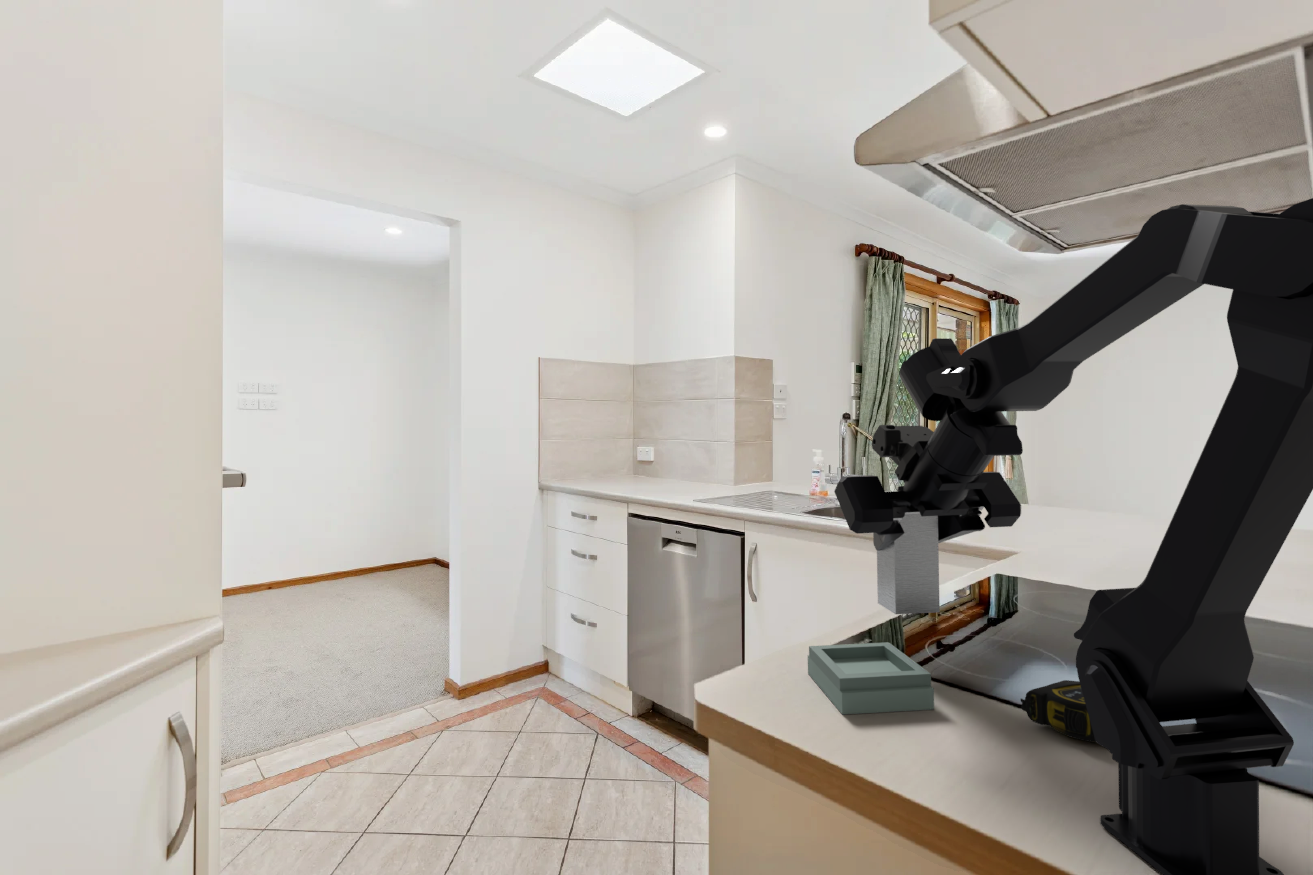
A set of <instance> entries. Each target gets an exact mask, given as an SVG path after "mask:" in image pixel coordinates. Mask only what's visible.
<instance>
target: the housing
mask: <svg viewBox="0 0 1313 875" xmlns="http://www.w3.org/2000/svg"><path fill="white" fill-rule="evenodd" d="M900 524H901V526H902V528H903V530H904V534H903V535H902V536H900V537H899V538H898V539H896V540H895V541H893V542H892V543H891V544H889V545H888V546H887V547H885V548H884V549H882V550H880V551H877V550H876V572H877V575H876V577H877V578H876V579H877V604H879V605H880V606H882V607H883V608H884V609H886V610H887V611H889V612H891V613H893V614H894V615H910V614H911V615H912V614H927V613H928V614H930V613H940V609H941V608H940V607H941V606H940V562H939V561H940V560H939V555H940V553H939V543H938V516H921V514H905V516H904V517H903V519H901V521H900Z"/></svg>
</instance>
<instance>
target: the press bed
mask: <svg viewBox="0 0 1313 875" xmlns="http://www.w3.org/2000/svg"><path fill="white" fill-rule="evenodd" d="M807 674H808V676H810V678H811V679H812V681H814V682H815V684H816V685H817V687H819V689H820V690H821V691H822V692H823V694H825V696H826V697H827V698H828V699H829V701H830V702H831V703H832V704H833V706H834V707H835V708H836V709H837V710H838V711H839V712H840V713H841V715H854V714H855V715H856V714H857V715H858V714H875V713H891V712H893V713H894V712H908V711H910V712H911V711H928V710H935V691H934V689H935V688H934V687H933V686H932V673H931V672H929V671H928V670H927V669H925V668H923V667H922V666H921V665H920V664H919V663H917V662H915V661H914V660H913V659H912V658H910V657H909V656H908V655H906V654H905V653H904V652H903V651H901V650H899V649H898V648H897V647H896V646H894V645H893V644H892V643H890V641H889V642H868V643H867V642H866V643H850V644H849V643H847V644H845V643H844V644H826V645H825V644H824V645H809V646H808V655H807Z"/></svg>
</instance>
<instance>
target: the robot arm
mask: <svg viewBox="0 0 1313 875" xmlns="http://www.w3.org/2000/svg"><path fill="white" fill-rule="evenodd" d="M1204 285H1208V286H1212V287H1218V288H1219V287H1220V288H1222V289H1223V288H1225V289H1230V290H1232V292H1231V296H1230V301H1229V305H1228V308H1227V312H1226V321H1227V326H1228V330H1229V334H1230V338H1231V341H1232V342H1231V343H1232V347H1233V350H1234V355H1235V359H1236V363H1237V369H1236V372H1235V377H1234V379H1233V381H1232V384H1231V386H1230V389H1228V390H1229V391H1228V393H1227V395H1226V398H1225V400H1224V402H1223V403H1222V407H1221V408H1220V411H1219V413H1218V415H1217V417H1216V420H1215V422H1214V424H1213V426H1212V428H1211V431H1210V434H1209V435H1208V438H1207V439H1206V442H1205V444H1204V447H1203V449H1202V451H1201V453H1200V456H1199V457H1198V459H1197V461H1196V464H1195V466H1194V469H1193V471H1192V472H1191V476H1190V478H1189V479H1188V482H1187V484H1186V487H1185V489H1184V490H1183V493H1182V495H1181V497H1180V500H1179V502H1178V505H1177V506H1176V509H1175V511H1174V513H1173V515H1172V518H1171V520H1170V522H1169V524H1168V527H1167V528H1166V531H1165V533H1164V535H1163V538H1162V540H1161V542H1160V545H1159V546H1158V550H1157V551H1156V554H1155V556H1154V558H1153V560H1152V562H1151V564H1150V567H1149V569H1148V571H1147V574H1146V576H1145V578H1144V579H1143V581H1142V582H1140V584H1139V585H1137V586H1136V587H1124V588H1108V589H1107V588H1106V589H1097V590H1096V591H1095V593H1094V594H1093V596H1092V597H1091V598H1090V600H1089V604H1088V608H1087V613H1086V617H1085V620H1084V621H1083V623H1082V625H1081V626H1080V628H1079V629H1077V630H1076V631H1075V632H1074V633H1073V637H1074V639H1076V640H1080V642H1079V644H1078V647H1077V650H1076V656H1075V668H1076V669H1077V670H1076V672H1077V676H1078V677H1077V678H1078V681H1079V682H1080V685H1081V689H1082V693H1083V696H1084V700H1085V704H1086V708H1087V711H1088V715H1089V719H1090V722H1091V726H1092V730H1093V734H1094V737H1095V740H1096V742H1095V743H1097V744H1098V745H1100V746H1101V747H1103V748H1104V749H1107V750H1108V751H1109V753H1110V754H1111V759H1112V760H1113V761H1115V763H1116V762H1117V763H1118V767H1117V768H1118V808H1119V810H1120V811H1121V813H1112V814H1103V815H1100V817H1099V820H1100V821H1099V822H1100V825H1101V827H1103V828H1104V829H1105V830H1107V831H1108V832H1109V833H1111V834H1112V835H1113V836H1114V837H1115V838H1117V839H1118V840H1120V841H1121V842H1122V843H1124V845H1125V846H1127V847H1128V848H1130V850H1132V851H1133V852H1134V853H1136V854H1137V855H1138V856H1139V857H1141V858H1142V859H1143V860H1145V861H1146V862H1147V863H1148V864H1150V866H1152V867H1153V868H1154V869H1156V870H1157V871H1158V872H1159V873H1161V874H1162V875H1285V874H1284V872H1283V871H1282V870H1281V869H1279V868H1277V867H1275V865H1273V864H1271V863H1270V862H1268V861H1266V860H1265V859H1264V858H1262V857H1260V786H1259V785H1260V779H1259V778H1258V777H1256V776H1255V775H1252V774H1251V773H1249V772H1248V769H1254V768H1255V769H1256V768H1263V767H1271V768H1278V767H1283V766H1284V765H1285V763H1286V761H1287V758H1288V757H1289V754H1290V753H1291V750H1292V748H1293V746H1294V745H1295V744H1294V743H1295V740H1294V738H1293V736H1292V735H1291V734H1290V732H1289V731H1288V730H1287V729H1286V728H1285V726H1284V725H1283V724H1282V723H1281V721H1280V720H1279V719H1278V717H1277V716H1276V715H1275V714H1274V712H1273V711H1272V710H1271V709H1270V708H1269V706H1268V705H1267V703H1266V702H1265V701H1264V700H1263V698H1262V697H1261V696H1260V695H1259V693H1258V692H1257V691H1256V690H1255V689H1254V687H1253V686H1252V685H1251V683H1250V682H1249V681H1248V679H1249V676H1250V672H1251V670H1252V666H1253V662H1254V650H1253V647H1252V643H1251V640H1250V636H1249V632H1248V628H1247V625H1246V621H1245V617H1246V615H1247V612H1248V610H1249V607H1250V606H1251V604H1252V602H1253V600H1254V599H1255V597H1256V595H1257V593H1258V591H1259V589H1260V587H1261V586H1262V584H1263V582H1264V581H1265V578H1266V577H1267V574H1268V573H1269V571H1270V569H1271V567H1272V565H1273V564H1274V562H1275V560H1276V558H1277V557H1278V554H1279V553H1280V550H1281V549H1282V547H1283V545H1284V543H1285V541H1286V540H1287V538H1288V536H1289V534H1290V533H1291V531H1292V529H1293V527H1294V525H1295V523H1296V521H1297V519H1298V517H1299V515H1300V514H1301V512H1302V511H1303V509H1304V507H1305V505H1306V503H1307V501H1308V499H1309V497H1310V496H1311V494H1312V492H1313V197H1312V198H1309V199H1306V200H1302V201H1301V202H1297V203H1295V204H1292V205H1291V206H1289V207H1288V208H1286V209H1284V210H1283V211H1282V212H1280V213H1276V212H1275V213H1274V212H1260V211H1251V210H1250V211H1249V210H1247V209H1246V208H1244V207H1240V206H1235V205H1234V206H1233V205H1216V204H1215V205H1214V204H1212V205H1211V204H1210V205H1208V204H1207V205H1206V204H1185V203H1182V204H1177V205H1171V206H1170V207H1169V208H1167V209H1166V208H1165V209H1161V210H1160V211H1158V212H1156V213H1154V214H1153V215H1151V216H1150V217H1149V218H1148V220H1146V222H1145V223H1144V224H1143V225H1142V226H1141V229H1140V231H1139V234H1137V235H1136V237H1134V238H1132V240H1130V241H1129V242H1128V243H1127V244H1126V245H1124V246H1123V247H1122V248H1120V249H1119V250H1118V251H1116V252H1115V253H1114V254H1112V256H1110V257H1109V258H1108V259H1107V260H1105V261H1104V262H1103V263H1102V264H1100V265H1099V266H1098V267H1096V268H1095V269H1094V270H1093V271H1092V272H1090V273H1089V274H1088V275H1086V276H1085V277H1084V278H1082V279H1081V280H1080V281H1079V282H1077V283H1076V284H1075V285H1074V286H1073V287H1072V288H1070V289H1069V290H1068V291H1067V292H1065V293H1064V294H1063V295H1061V296H1060V297H1059V298H1057V300H1055V301H1054V302H1053V303H1052V304H1050V305H1048V306H1047V307H1046V308H1045V309H1043V310H1042V311H1041V313H1039V314H1037V315H1036V316H1035V317H1034V318H1033V319H1031V320H1030V321H1029V322H1027V323H1024V324H1023V325H1021V326H1019V327H1016V328H1014V329H1010V330H1006V331H1003V332H999V333H997V334H994V335H991V336H988V337H986V338H984V339H982V340H981V341H979V342H977V343H975V344H973V345H972V346H970V347H968V348H966V349H965V350H964V351H963V352H962V353H960V351H959V349H958V346H957V345H956V343H955V342H954V340H953V339H952V338H947V337H946V338H939V337H937V338H932V340H931V342H930V344H929V346H927V347H924V348H922V349H919V350H918V351H916V352H914V353H913V354H912V355H910V356H909V357H908V358H907V359H906V360H904V361H903V362H902V363H901V365H900V368H899V377H900V380H901V381H902V384H903V385H904V387H905V389H906V390H907V392H908V394H909V396H910V397H911V399H912V401H913V402H914V404H915V406H916V407H917V409H918V411H919V413H920V414H921V416H922V418H924V419H926V420H928V421H933V422H938V424H937V426H936V427H935V429H934V431H933V430H931V428H929V427H927V426H922V425H894V424H880V425H878V427H877V429H876V430H875V432H874V433H873V437H872V441H871V448H872V450H873V451H874V452H875V453H876V454H877V455H878V456H879V457H880V458H889V459H891V460H892V461H893V462H894V464H895V465H897V467H896V469H895V470H894V473H895V476H896V477H897V479H898V481H903V482H904V484H903V485H901V486H897V488H896V490H897V491H886V490H885V488H884V487H883V485H882V484H883V483H882V482H881V481H880V479H879V476H878V475H868V474H867V475H845V476H841V477H840V479H839V480H838V483H837V485H836V487H835V489H834V491H833V492H834V494H835V497H836V500H837V502H838V504H839V506H840V509H841V511H842V514H843V516H844V518H845V521H846V523H847V527H848V529H849V530H850V531H852V532H854V533H855V534H872V535H873V546H874V548H875V550H876V552H877V551H880V550H882V549H884V548H885V547H887V546H888V545H889V544H891V543H892V542H893V541H895V540H896V539H898V538H899V537H900V536H902V535H903V534H904V530H903V528H902V526H901V524H900V521H901V519H903V517H904V516H905V514H921V516H938V544H940V543H943V542H946V541H950V540H953V539H955V538H959V537H962V536H966V535H969V534H972V533H975V532H981V531H984V530H985V528H986V525H985V523H986V524H987V526H988V527H989V528H1005V527H1007V528H1009V527H1013V526H1014V524H1015V523H1016V522H1017V521H1018V519H1020V517H1021V515H1022V504H1021V503H1020V501H1019V499H1018V498H1017V496H1016V495H1015V493H1014V492H1013V490H1012V489H1011V487H1010V486H1009V484H1008V483H1007V481H1006V480H1005V478H1004V477H1003V475H1002V474H1001V473H1000V472H999V471H985V470H986V469H987V467H988V465H989V464H990V463H991V461H992V460H993V458H995V457H997V456H998V457H999V456H1020V455H1022V454H1023V450H1024V449H1023V442H1022V440H1021V439H1020V437H1019V434H1018V426H1017V425H1016V424H1011V423H1010V422H1009V420H1008V419H1007V417H1006V416H1005V414H1004V413H1003V412H1037V411H1039V410H1043V409H1044V408H1046V406H1048V405H1049V404H1050V403H1051V402H1052V401H1054V400H1055V399H1056V398H1057V397H1058V396H1059V395H1060V394H1061V393H1062V392H1064V391H1065V390H1066V389H1067V388H1068V387H1069V386H1070V384H1071V382H1072V378H1073V376H1074V371H1075V370H1076V369H1077V368H1078V366H1080V365H1081V364H1082V363H1083V362H1084V361H1086V360H1087V359H1089V358H1091V357H1092V356H1094V355H1095V354H1097V353H1099V352H1100V351H1102V350H1103V349H1105V348H1106V347H1108V346H1109V345H1111V344H1112V343H1115V341H1118V340H1119V339H1121V338H1122V337H1123V336H1125V335H1127V334H1128V333H1130V332H1132V331H1133V330H1135V329H1136V328H1137V327H1139V326H1141V325H1142V324H1144V323H1145V322H1147V321H1148V320H1150V319H1151V318H1153V317H1155V316H1156V315H1158V314H1160V313H1161V312H1162V311H1164V310H1166V309H1168V308H1169V307H1171V306H1172V305H1174V304H1176V303H1177V302H1178V301H1180V300H1182V299H1183V298H1185V297H1186V296H1188V295H1190V294H1191V293H1193V292H1194V291H1196V290H1198V289H1199V288H1201V287H1202V286H1204ZM984 509H985V511H986V512H987V514H986V516H985V517H984V518H983V519H982V518H981V515H982V513H983V512H982V511H983V510H984ZM983 520H984V521H985V523H984V521H983ZM1190 720H1195V723H1184V724H1175V725H1162V724H1161V723H1165V722H1166V723H1167V722H1176V721H1190Z"/></svg>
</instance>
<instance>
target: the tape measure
mask: <svg viewBox="0 0 1313 875" xmlns="http://www.w3.org/2000/svg"><path fill="white" fill-rule="evenodd" d="M1020 702H1021V704H1020V708H1021V710H1023V712H1026V715H1027V717H1028V718H1029V720H1031V721H1032V722H1033V723H1035V724H1038V725H1042V726H1049V727H1050V728H1051V729H1053V730H1055V731H1056V732H1057V733H1060V734H1062V735H1064V736H1067V737H1070V738H1074V739H1076V740H1081V741H1085V742H1092V743H1097V742H1096V740H1095V737H1094V734H1093V730H1092V726H1091V722H1090V719H1089V715H1088V711H1087V708H1086V704H1085V700H1084V696H1083V693H1082V689H1081V685H1080V681H1079V680H1078V681H1076V680H1066V679H1064V680H1061V681H1058V682H1054V683H1051V684H1047V685H1043V686H1041V687H1037V688H1032V689H1030V690H1028V691H1027V692H1026V695H1025V697H1024V699H1023V698H1020Z"/></svg>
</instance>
